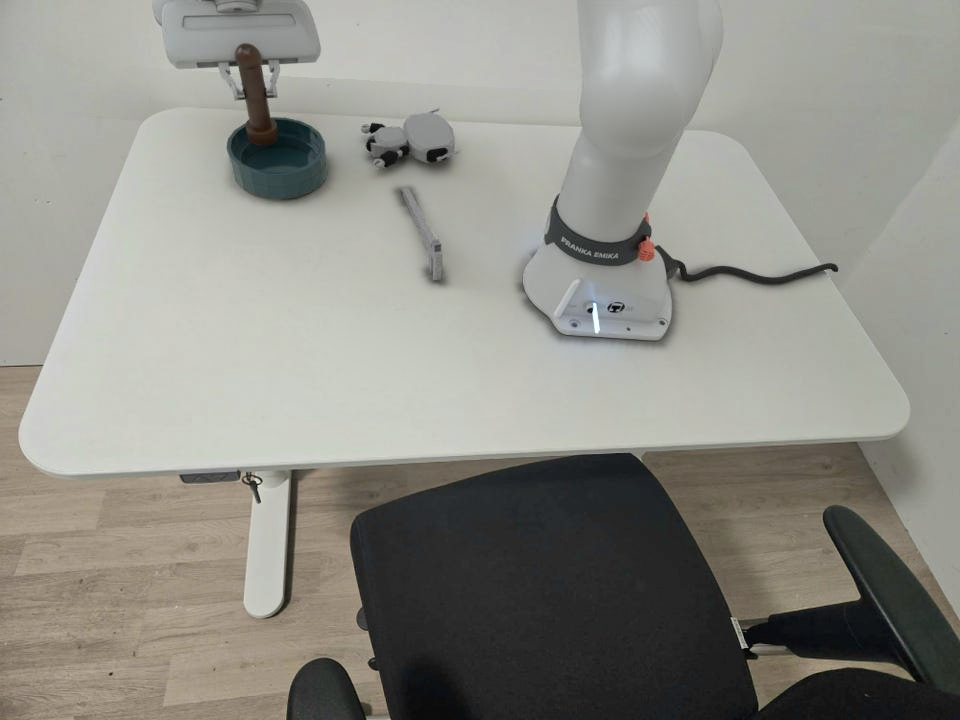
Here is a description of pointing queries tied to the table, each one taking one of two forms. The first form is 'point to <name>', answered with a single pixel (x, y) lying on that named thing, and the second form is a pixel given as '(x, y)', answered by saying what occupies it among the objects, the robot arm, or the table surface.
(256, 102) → the pestle
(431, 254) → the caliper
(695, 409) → the table surface
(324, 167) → the bowl
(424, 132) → the robot toy
